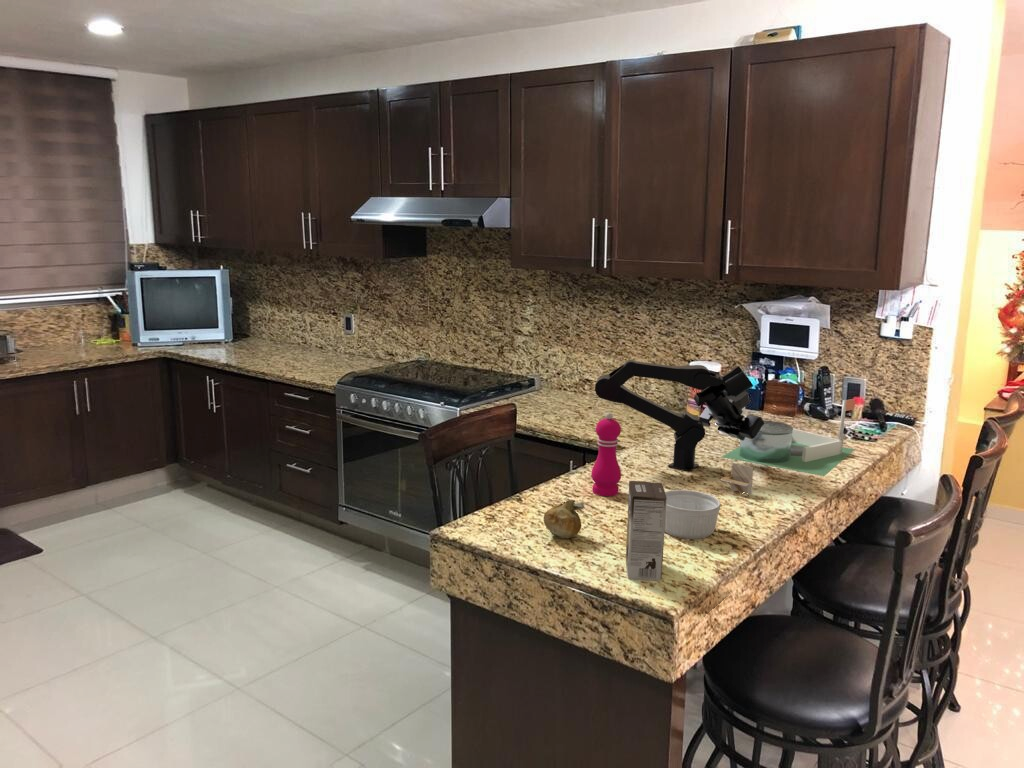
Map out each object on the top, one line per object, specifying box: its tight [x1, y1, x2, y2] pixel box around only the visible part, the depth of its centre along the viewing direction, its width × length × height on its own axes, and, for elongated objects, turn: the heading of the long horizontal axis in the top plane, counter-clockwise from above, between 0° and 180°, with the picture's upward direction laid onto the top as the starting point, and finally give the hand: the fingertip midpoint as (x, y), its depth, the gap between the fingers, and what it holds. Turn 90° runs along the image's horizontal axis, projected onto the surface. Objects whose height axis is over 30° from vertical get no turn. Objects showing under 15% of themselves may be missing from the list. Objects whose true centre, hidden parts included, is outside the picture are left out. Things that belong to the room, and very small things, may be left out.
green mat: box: [721, 442, 856, 477], centre depth 233 cm, size 35×28×1 cm
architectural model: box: [720, 462, 754, 496], centre depth 195 cm, size 3×7×7 cm, turn 48°
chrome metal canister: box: [739, 419, 794, 463], centre depth 228 cm, size 14×14×9 cm
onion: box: [543, 499, 585, 539], centre depth 165 cm, size 8×8×8 cm
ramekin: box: [665, 489, 721, 540], centre depth 170 cm, size 13×13×7 cm
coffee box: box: [625, 480, 667, 582], centre depth 148 cm, size 9×6×16 cm
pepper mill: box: [590, 412, 622, 497], centre depth 192 cm, size 7×7×20 cm
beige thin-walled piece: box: [790, 398, 856, 462], centre depth 237 cm, size 22×20×16 cm
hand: (743, 439), depth 222 cm, fingers closed
